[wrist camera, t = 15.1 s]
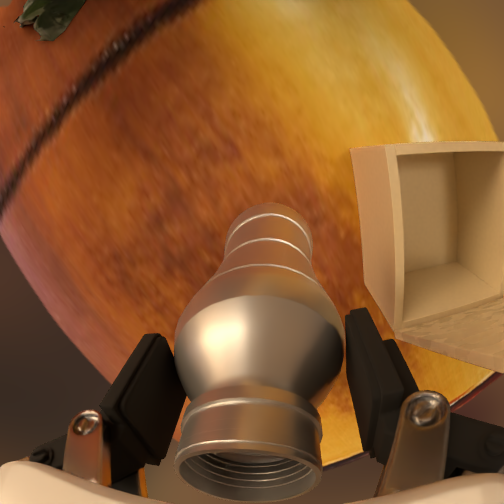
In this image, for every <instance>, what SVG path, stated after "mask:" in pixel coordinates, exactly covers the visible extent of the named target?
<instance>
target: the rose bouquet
mask: <svg viewBox="0 0 504 504" xmlns="http://www.w3.org/2000/svg"><path fill="white" fill-rule="evenodd" d="M84 2H85V0H28V1H27V2H26V3H25V5H24V6H23V7H24V10H23V11H24V12H23V14H22V15H21V16H19V17H18V18H17V19H16V20H15V21H14V23H15V22H19V23H20V24H21V26H20V27H23V26H24V25H25V24H32V23H34V24H33V25H34V26H33V27H34V30H36V31H37V32H38V33H39V35H40V36H41V37H40V40H36V41H54V40H55V39H56V38H57V37H58V36H59V35H60V34H61V33H62V32H64V31H65V29H66V28H67V26H68V25H69V23H70V22H71V21H72V19H73V18H74V16H75V15H76V14H77V12H78V11H79V9H80V8H81V7H82V5H83V4H84ZM38 15H39V17H37V16H38ZM3 27H4V26H3Z"/></svg>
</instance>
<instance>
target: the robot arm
mask: <svg viewBox="0 0 504 504" xmlns="http://www.w3.org/2000/svg"><path fill="white" fill-rule="evenodd" d="M345 331H346V374H347V380H348V384H349V388H350V393H351V397H352V401H353V406H354V410H355V414H356V419H357V423H358V428H359V433H360V438H361V443H362V448H363V451H364V452H365V451H369V453H370V458H374V457H376V459H377V462H379V463H381V464H383V465H384V466H383V470H382V473H381V476H380V479H379V483H378V485H377V488H376V491H375V494H374V497H373V498H372V499H367V500H362V501H357V502H351V503H345V504H504V428H503V427H500V426H497V425H493V424H489V423H485V422H482V421H478V420H475V419H472V418H468V417H465V416H462V415H458V414H455V413H452V412H450V405H449V402H448V400H447V399H446V398H445V397H444V396H443V395H442V394H440V393H438V392H435V391H430V390H424V391H419V389H418V387H417V385H416V382H415V380H414V378H413V376H412V374H411V372H410V370H409V368H408V366H407V364H406V362H405V360H404V358H403V356H402V354H401V352H400V350H399V348H398V346H397V344H396V342H395V341H394V340H393V339H389V340H384V341H382V338H381V336H380V334H379V332H378V330H377V328H376V326H375V324H374V322H373V320H372V318H371V316H370V314H369V312H368V310H367V308H366V307H364V308H359V309H354V310H351V311H350V314H349V315H345ZM186 396H187V394H186V392H185V390H184V388H183V386H182V384H181V381H180V379H179V376H178V374H177V371H176V367H175V363H174V356H173V354H172V352H171V350H170V347H169V345H168V343H167V340H166V338H165V337H162V336H161V335H160V334H159V333H154V334H145V335H144V336H143V337H142V339H141V341H140V342H139V344H138V345H137V347H136V348H135V350H134V351H133V353H132V354H131V356H130V357H129V359H128V360H127V362H126V364H125V365H124V367H123V368H122V370H121V371H120V373H119V375H118V376H117V378H116V379H115V381H114V382H113V384H112V386H111V387H110V389H109V390H108V392H107V394H106V395H105V397H104V399H103V400H102V402H101V403H100V405H99V406H100V407H101V409H102V410H101V412H100V413H99V412H98V411H96V410H85V411H82V412H80V413H78V414H77V415H76V416H74V417H73V419H72V420H71V422H70V424H69V428H68V434H66V435H64V436H61V437H59V438H57V439H54V440H52V441H50V442H47V443H45V444H43V445H40V446H38V447H37V448H36V449H34V450H33V452H32V453H31V456H30V457H25V458H23V459H20V460H18V461H14V462H8V463H6V464H4V465H2V466H1V467H0V504H175V503H169V502H164V501H159V500H154V499H150V498H148V493H147V487H146V480H145V472H144V466H145V463H147V464H151V465H157V466H159V465H160V462H161V459H164V458H165V456H166V454H167V451H168V448H169V445H170V442H171V439H172V436H173V433H174V431H175V428H176V425H177V422H178V419H179V416H180V413H181V410H182V408H183V405H184V402H185V399H186Z"/></svg>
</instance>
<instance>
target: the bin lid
mask: <svg viewBox="0 0 504 504" xmlns="http://www.w3.org/2000/svg"><path fill="white" fill-rule="evenodd" d="M395 338H396V339H399V340H402V341H405V342H407V343H410V344H413V345H416V346H419V347H422V348H425V349H428V350H431V351H434V352H437V353H440V354H443V355H446V356H449V357H452V358H455V359H458V360H461V361H464V362H467V363H471V364H474V365H477V366H480V367H483V368H486V369H490V370H493V371H496V372H500V373H503V374H504V298H501V299H498V300H496V301H493V302H490V303H487V304H485V305H482V306H479V307H476V308H473V309H470V310H467V311H464V312H461V313H458V314H454V315H451V316H448V317H444V318H441V319H438V320H434V321H431V322H427V323H423V324H420V325H416V326H412V327H408V328H404V329H400V330H396V331H395Z"/></svg>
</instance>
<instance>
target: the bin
mask: <svg viewBox="0 0 504 504" xmlns="http://www.w3.org/2000/svg"><path fill="white" fill-rule="evenodd" d="M350 154H351V160H352V166H353V173H354V179H355V186H356V194H357V202H358V211H359V220H360V230H361V241H362V255H363V271H364V284H365V286H366V287H367V289H368V290H369V292H370V294H371V295H372V297H373V298H374V300H375V302H376V303H377V305H378V307H379V308H380V310H381V312H382V313H383V315H384V317H385V318H386V320H387V322H388V323H389V325H390V327H391V328H392V330H393V332H395V331H396V330H400V329H404V328H408V327H412V326H416V325H420V324H423V323H427V322H431V321H434V320H438V319H441V318H444V317H448V316H451V315H454V314H458V313H461V312H464V311H467V310H470V309H473V308H476V307H479V306H482V305H485V304H487V303H490V302H493V301H496V300H498V299H501V298H503V296H504V142H492V141H441V142H416V143H400V144H386V145H375V146H365V147H356V148H350Z"/></svg>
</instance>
